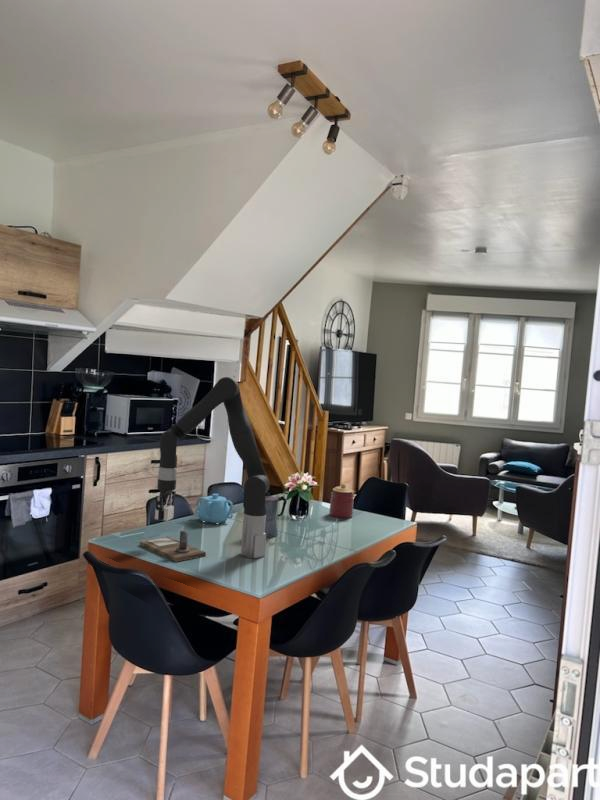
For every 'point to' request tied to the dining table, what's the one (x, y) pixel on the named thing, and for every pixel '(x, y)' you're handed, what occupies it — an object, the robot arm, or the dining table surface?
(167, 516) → the white cube
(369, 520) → the dining table surface
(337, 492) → the canister
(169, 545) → the post board
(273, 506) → the moka pot
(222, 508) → the decorative pot
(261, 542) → the robot arm
